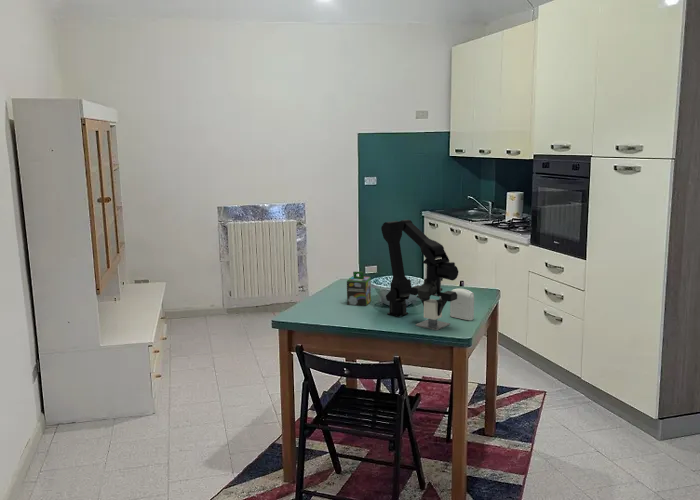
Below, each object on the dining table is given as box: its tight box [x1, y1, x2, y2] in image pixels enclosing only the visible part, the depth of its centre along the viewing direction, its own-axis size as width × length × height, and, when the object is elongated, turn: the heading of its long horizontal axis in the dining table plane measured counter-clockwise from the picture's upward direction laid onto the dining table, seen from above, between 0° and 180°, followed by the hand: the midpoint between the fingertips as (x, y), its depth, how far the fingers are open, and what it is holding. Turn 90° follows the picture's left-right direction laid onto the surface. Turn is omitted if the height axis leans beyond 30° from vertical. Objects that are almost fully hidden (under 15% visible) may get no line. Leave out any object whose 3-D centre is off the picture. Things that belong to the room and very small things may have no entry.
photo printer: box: [449, 288, 475, 321], centre depth 262 cm, size 10×4×12 cm, turn 47°
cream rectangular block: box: [423, 298, 443, 320], centre depth 252 cm, size 5×5×7 cm
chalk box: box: [346, 271, 372, 307], centre depth 286 cm, size 9×9×15 cm
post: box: [414, 318, 451, 331], centre depth 253 cm, size 10×10×7 cm
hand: (432, 314), depth 253 cm, fingers closed on cream rectangular block, 5 cm apart
